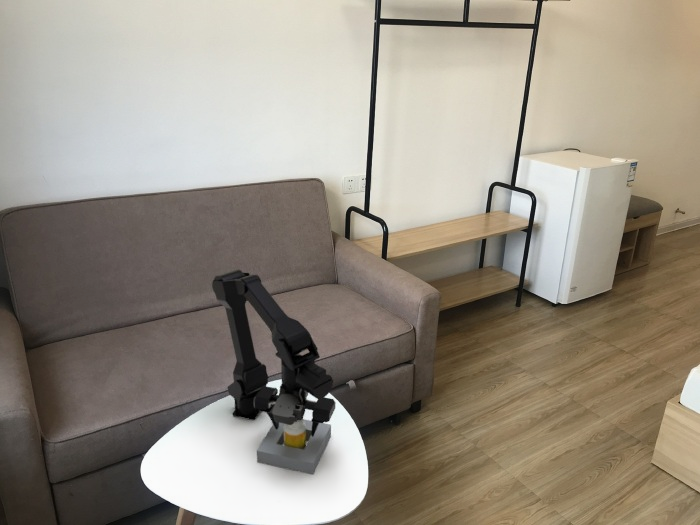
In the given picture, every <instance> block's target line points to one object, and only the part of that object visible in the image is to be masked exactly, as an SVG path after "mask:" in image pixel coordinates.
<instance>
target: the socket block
mask: <svg viewBox="0 0 700 525" xmlns="http://www.w3.org/2000/svg"><path fill="white" fill-rule="evenodd" d="M303 421H304V423H305V425H306V447H305V449H304V450H303V449H298V448H294V447H289V446H284V423H279V428H278V429H275V427H274V425H273V424H272V425H271V426H270V428H269V430H268V431H267V433H266V435H265V436H264V438H263V440H262V442H260V444H259V446H258V447H257V449H256V461H257V463H259V464H264V465H267V466H272V467H277V468H282V469H285V470H291V471H295V472H300V473H304V474H308V475H312V476H313V475H314V474H315V471H317V470H316V469H317V468H318V465H319V463H320V461H321V459H322V457H323V454H324V452H325V450H326V449H327V446H328V443H329V441H330V439H331V436H332V424H329V423H326V422H324V423H319V425H318V427H317V430H316V432H315V434H314V437H312V435H311V431H312V421H311V420H309V419H305V418H303Z"/></svg>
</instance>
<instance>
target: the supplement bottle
mask: <svg viewBox="0 0 700 525" xmlns="http://www.w3.org/2000/svg"><path fill="white" fill-rule="evenodd" d="M303 419H304V418H303ZM303 419H302V420H297V422H294V423H293V424H292V425H287V424H284V443H283V445H284V446H289V447H294V448H298V449H303V450H304V449H305V447H306V445H307V441H306V425H305V423H304V421H303Z"/></svg>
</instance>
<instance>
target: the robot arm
mask: <svg viewBox="0 0 700 525" xmlns="http://www.w3.org/2000/svg"><path fill="white" fill-rule="evenodd" d="M211 285H212V286H211V287H212V290H213V292H214V295H215V298H216V300H217V302H219V304H220V305H222V306H223V308H225V313H226V318H227V321H228V327H229V330H230V336H231V340H232V346H233V349H234V355H235V359H236V361H235V362H236V363H235V366H234V369H233V371H232V378H233V382H232V383H230V384H229V385H228V386H227V387H226V388H227V392H228V395H230V396H231V397H232V398H233V400H234V411H233V412H232V413H231V414H232V416H233V417H236V418H237V417H238V418H242V419H247V420H252V421H255V420H256V419H257V417H258V415H260V414H261V412H263V413H265V414H267V415H268V417H269V419H270V421H271V423H272V425H274V427H275V429H278V428H279V423H284V424H287V425H292V424H293V423H294V422H297V420H302V419H304V416H305V414H306V410H308V411H312V413H311V417H312V418H311V420H310V421H312V431H311V435H312V437H314V434H315V432H316V430H317V427H318V425H319V423H328V422H330V421H331V419H332V417H333V414H334V412H335V410H336V401H335V399H334V398H330V397H326V396H328V395H329V393H330V392H331V391H332V389H333V385H334V379H333V377H332V376H331V375H330V374H329V373H327V369H325V368H324V367H322V366H320V365H318V364H316V363H315V362H316V360H318V359H320V353H319V352H318V350H319V349H318V347H317V345H316V343H315V341H314V340H313V338H312V335H311V333H310V332H309V330H308V329H307V328H306V327H305V326H304V325H303V324H302V323H301V322H300V321H299V320H297V319H295V318H292V317H290V316H288V314H286V313H285V311H284V310H283V308H281V306H280V305H279V303H278V302H277V301H276V300H275V298H274V297H273V296H272V295H271V294H270V292H269V291H268V290H267V289H266V286H264V284H263V283H262V279H261V278H260V276H259V275H258V274H253V273H252V272H250V271H249V272H245V271H242V270H240V269H234V270H231V271H227V272H224V273H221V274H218V275H216V276H214V278H213V280H212V284H211ZM247 302H248V303H249V304H250V305H251V307H252V308H253V309H254V310H255V311H256V313H257V315H258V316H259V318H261V320H262V321H263V322H264V324H265V325H266V327H267V328H268V329H269V331H270V332H271V342H272V344H273V346H274V348H275V349H276V352H275V356H276V357H277V358H279V359H280V360H281V362H280V363H281V364H280V366H281V367H280V368H281V385H280V386H279V390H278V388H276V387H271V386H267V385H268V384H269V374H268V372H267V366H266V365H265V364H264V363H262V362H261V361H260V360H259V359H258V358H257V356H256V351H255V346H254V342H253V337H252V331H251V327H250V322H249V317H248V312H247V307H246V303H247ZM307 350H308V352H307V353H304V354H303V355H302V354H301V353H303V352H305V351H307ZM308 395H311V396H312V397H313V398H315V399H317V401H315V400H311V399H307V397H308Z"/></svg>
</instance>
